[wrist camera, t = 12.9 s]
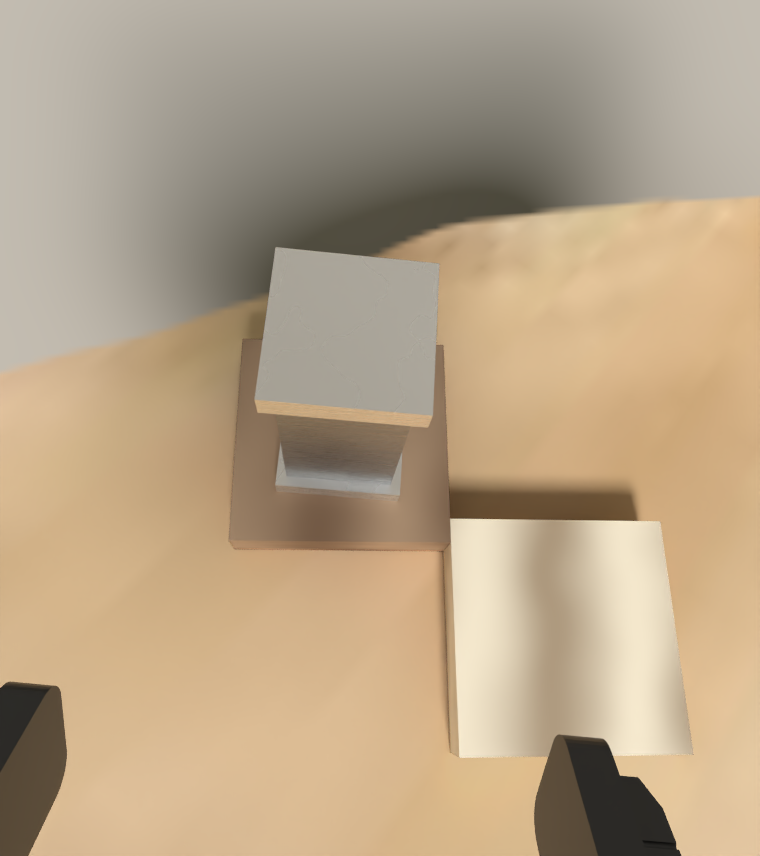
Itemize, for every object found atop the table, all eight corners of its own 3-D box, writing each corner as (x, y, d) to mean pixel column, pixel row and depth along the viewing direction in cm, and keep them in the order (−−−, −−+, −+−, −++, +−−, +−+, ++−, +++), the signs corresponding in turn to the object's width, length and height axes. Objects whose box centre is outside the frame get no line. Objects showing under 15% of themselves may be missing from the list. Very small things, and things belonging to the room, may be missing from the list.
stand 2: (640, 530, 31) (660, 521, 30) (669, 750, 28) (693, 754, 26) (442, 528, 31) (450, 518, 29) (450, 752, 28) (459, 757, 26)
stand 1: (436, 363, 33) (443, 344, 32) (443, 551, 30) (451, 542, 29) (247, 358, 33) (242, 338, 31) (234, 549, 30) (228, 540, 28)
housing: (403, 391, 31) (439, 263, 21) (397, 501, 29) (432, 415, 20) (290, 380, 30) (275, 247, 21) (276, 491, 29) (254, 399, 19)
